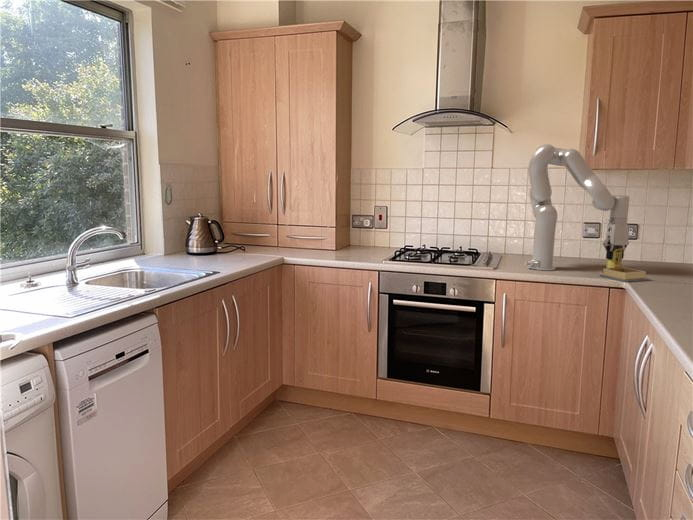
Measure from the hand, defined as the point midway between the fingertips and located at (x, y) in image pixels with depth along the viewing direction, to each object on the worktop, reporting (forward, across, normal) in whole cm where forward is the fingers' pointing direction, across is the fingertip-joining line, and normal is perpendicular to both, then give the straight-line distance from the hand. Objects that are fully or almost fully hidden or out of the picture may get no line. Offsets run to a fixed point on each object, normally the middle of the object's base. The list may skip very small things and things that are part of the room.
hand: (614, 258), depth 251 cm
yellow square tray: (+7, -8, -13) cm, 17 cm away
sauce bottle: (+7, 0, 0) cm, 7 cm away
